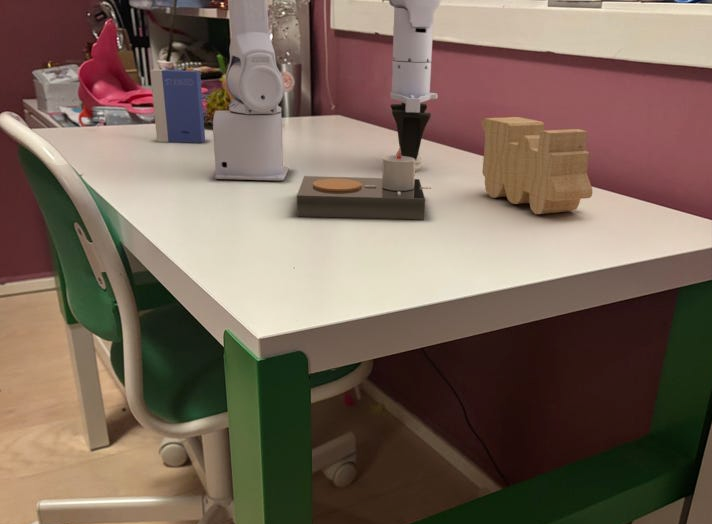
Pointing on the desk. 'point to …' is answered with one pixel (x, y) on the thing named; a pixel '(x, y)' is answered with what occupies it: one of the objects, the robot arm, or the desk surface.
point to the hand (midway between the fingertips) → (408, 155)
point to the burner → (337, 185)
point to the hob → (360, 200)
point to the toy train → (535, 164)
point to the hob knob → (398, 172)
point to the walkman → (178, 105)
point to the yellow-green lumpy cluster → (217, 103)
